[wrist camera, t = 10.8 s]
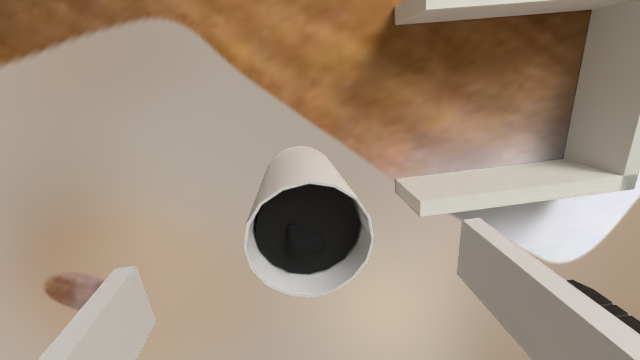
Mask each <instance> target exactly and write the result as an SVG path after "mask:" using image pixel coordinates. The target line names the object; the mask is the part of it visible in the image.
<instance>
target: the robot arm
mask: <svg viewBox="0 0 640 360" xmlns="http://www.w3.org/2000/svg"><path fill="white" fill-rule="evenodd" d="M458 259H459V260H458V269H457V274H458V275H459V277H460V278H461V279H462V280H463V281H464V282H465V284H466V285H467V286H468V287H469V288H470V289H471V290H472V292H473V293H474V294H475V295H476V296H477V297H478V298H479V300H480V301H481V302H482V303H483V304H484V305H485V306H486V308H487V309H488V310H489V311H490V312H491V313H492V314H493V315H494V317H495V318H496V319H497V320H498V321H499V322H500V323H501V325H502V326H503V327H504V328H505V329H506V330H507V331H508V333H509V334H510V335H511V336H512V337H513V338H514V339H515V340H516V342H517V343H518V344H519V345H520V346H521V347H522V349H523V350H524V351H525V352H526V353H527V354H528V355H529V357H530V358H531V359H532V360H640V321H638V320H637V319H635V318H634V317H633V316H629V315H628V313H627V312H625V311H624V310H622V309H621V308H619V307H618V306H617V305H613V304H612V302H611V301H609V300H608V299H606V298H605V297H604V296H602V295H601V294H599V293H598V292H596V291H595V290H593V289H591V288H589V287H587V286H585V285H582V284H580V283H578V282H576V281H574V280H567V281H566V280H564V279H563V278H562V277H560V276H559V275H558V274H556V273H555V272H553V271H552V270H551V269H549V268H548V267H546V266H545V265H544V264H543V263H541V262H540V261H538V260H537V259H535V258H534V257H533V256H532V255H530V254H529V253H527V252H526V251H525V250H523V249H522V248H521V247H519V246H518V245H516V244H515V243H514V242H512V241H511V240H510V239H508V238H507V237H505V236H504V235H503V234H501V233H500V232H499V231H497V230H496V229H494V228H493V227H492V226H490V225H489V224H488V223H486V222H485V221H483V220H482V219H481V218H472V219H465V220H462V227H461V238H460V248H459V258H458ZM155 322H156V319H155V317H154V314H153V311H152V308H151V306H150V303H149V300H148V297H147V295H146V292H145V289H144V286H143V284H142V281H141V278H140V275H139V272H138V270H137V267H136V266H130V267H123V268H116V269H114V270H113V271H112V273H111V274H110V275H109V276H108V277H107V279H106V280H105V281H104V282H103V283H102V284H101V286H100V287H99V288H98V289H97V290H96V292H95V293H94V294H93V295H92V296H91V298H90V299H89V300H88V301H87V302H86V303H85V305H84V306H83V307H82V308H81V309H80V311H79V312H78V313H77V314H76V315H75V317H74V318H73V319H72V320H71V321H70V323H69V324H68V325H67V326H66V327H65V328H64V329H63V331H62V332H61V333H60V334H59V335H58V337H57V338H56V339H55V340H54V342H52V344H51V345H50V346H49V347H48V348H47V350H46V351H45V352H44V353H43V354H42V355H41V357H40V358H39V359H38V360H137V358H138V356H139V354H140V352H141V350H142V348H143V346H144V344H145V342H146V340H147V338H148V336H149V334H150V332H151V330H152V328H153V326H154V324H155Z"/></svg>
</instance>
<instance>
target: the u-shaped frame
mask: <svg viewBox="0 0 640 360" xmlns="http://www.w3.org/2000/svg"><path fill="white" fill-rule="evenodd" d="M583 10H592V11H591V17H590V22H589V27H588V32H587V38H586V43H585V48H584V53H583V58H582V64H581V69H580V74H579V79H578V85H577V90H576V95H575V100H574V106H573V111H572V116H571V121H570V127H569V132H568V137H567V142H566V147H565V153H564V158H563V159H557V160H549V161H541V162H532V163H524V164H516V165H507V166H499V167H491V168H483V169H474V170H466V171H458V172H449V173H441V174H433V175H424V176H416V177H408V178H400V179H395V192H396V193H397V194H398V195H399V196H400V197H401V198H402V199H403V200H404V201H405V202H406V203H407V204H408V205H409V206H410V208H411V209H412V210H413V211H414V212H415V213H416V214H417V215H418V216H420V217H425V216H433V215H441V214H448V213H456V212H464V211H471V210H479V209H486V208H494V207H502V206H509V205H517V204H524V203H532V202H539V201H547V200H555V199H562V198H570V197H577V196H585V195H593V194H600V193H608V192H615V191H623V190H631V189H634V188H635V184H636V181H637V177H638V173H639V170H640V0H404V1H402V2H401V3H399V4H398V5H396V6H395V25H405V24H417V23H430V22H443V21H455V20H468V19H481V18H494V17H506V16H519V15H532V14H544V13H557V12H570V11H583Z"/></svg>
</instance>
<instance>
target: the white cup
mask: <svg viewBox="0 0 640 360" xmlns="http://www.w3.org/2000/svg"><path fill="white" fill-rule="evenodd" d="M373 243H374V233H373V226H372V220H371V216H370V215H369V214H368V212H367V211H366V209H365V208H364V206H363V205H362V204H361V202H360V201H359V199H358V198H357V196H356V195H355V194H354V193H353V191H352V190H351V189H350V187H349V186H348V185H347V183H346V182H345V181H344V179H343V178H342V177H341V176H340V174H339V173H338V172H337V170H336V169H335V168H334V167H333V165H332V164H331V162H330V161H329V160H328V159H327V157H326V156H325V155H324V154H322V153H321V152H319V151H317V150H316V149H314V148H310V147H304V146H296V147H292V148H287V149H285V150H283V151H282V152H280V153H279V154H278V155H276V156H275V157H274V158H273V160H272V161H271V163H270V164H269V166H268V168H267V170H266V173H265V175H264V178H263V180H262V183H261V186H260V189H259V191H258V194H257V197H256V199H255V202H254V205H253V207H252V210H251V213H250V216H249V218H248V221H247V223H246V229H245V237H244V246H243V249H244V252H245V255H246V258H247V260H248V264H249V267H250V269H251V271H252V272H253V273H254V274H255V275H256V276H257V277H258V278H259V279H260V280H261V281H262V282H263V283H264V284H265V285H266V286H267V287H270V288H272V289H274V290H276V291H278V292H281V293H283V294H285V295H287V296H299V297H315V296H320V295H323V294H328V293H331V292H335V291H337V290H338V289H340V288H341V287H343V286H345V285H346V284H348V283H349V282H351V281H352V280H354V279H355V278H356V277H357V275H358V274H359V273H360V271H361V270H362V269H363V268H364V266H365V265H366V264H367V262H368V261H369V258H370V254H371V250H372V247H373Z"/></svg>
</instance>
